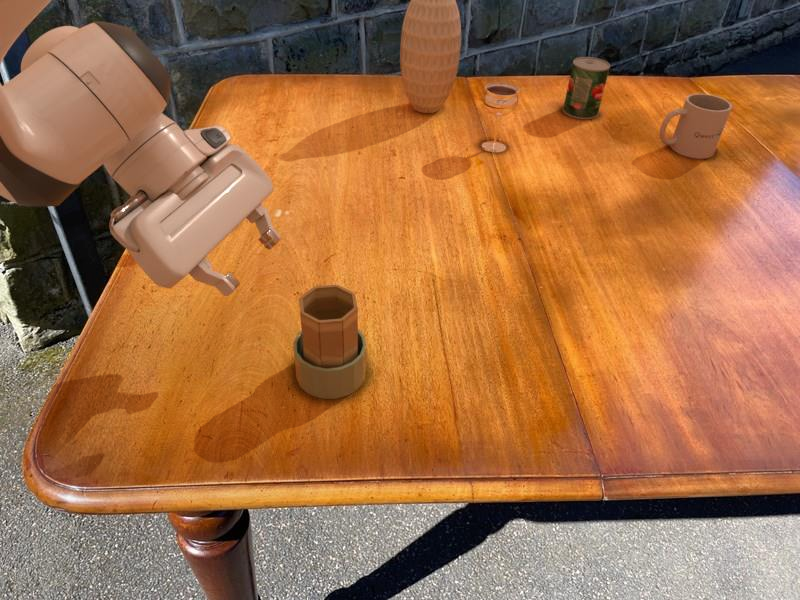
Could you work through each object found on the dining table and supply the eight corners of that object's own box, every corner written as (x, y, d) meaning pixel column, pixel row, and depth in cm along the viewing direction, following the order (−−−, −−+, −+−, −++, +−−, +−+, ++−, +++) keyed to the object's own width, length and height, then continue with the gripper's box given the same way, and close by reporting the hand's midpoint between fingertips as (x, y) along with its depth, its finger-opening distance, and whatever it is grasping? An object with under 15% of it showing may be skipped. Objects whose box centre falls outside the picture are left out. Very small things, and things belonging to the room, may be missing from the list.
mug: (707, 141, 134) (725, 95, 128) (718, 160, 128) (737, 113, 121) (648, 136, 135) (663, 90, 129) (657, 155, 129) (672, 107, 122)
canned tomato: (601, 120, 140) (613, 71, 133) (565, 118, 140) (576, 68, 133) (594, 105, 147) (606, 57, 139) (560, 103, 147) (570, 55, 139)
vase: (428, 125, 135) (439, -19, 117) (386, 106, 141) (389, -33, 123) (466, 109, 142) (481, -29, 124) (424, 92, 149) (432, -42, 130)
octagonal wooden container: (334, 397, 75) (331, 329, 68) (294, 373, 78) (287, 306, 71) (367, 366, 79) (367, 299, 72) (327, 344, 82) (324, 278, 75)
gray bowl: (335, 410, 75) (334, 381, 71) (281, 377, 78) (278, 348, 75) (379, 368, 80) (380, 339, 77) (326, 339, 84) (325, 310, 80)
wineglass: (495, 157, 125) (504, 98, 117) (470, 145, 129) (477, 87, 121) (517, 148, 128) (527, 90, 121) (492, 136, 132) (500, 79, 124)
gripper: (112, 205, 59) (219, 312, 63) (230, 119, 73) (311, 210, 77) (86, 235, 63) (188, 333, 67) (203, 147, 77) (281, 232, 81)
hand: (255, 266), depth 72 cm, fingers open, 8 cm apart
